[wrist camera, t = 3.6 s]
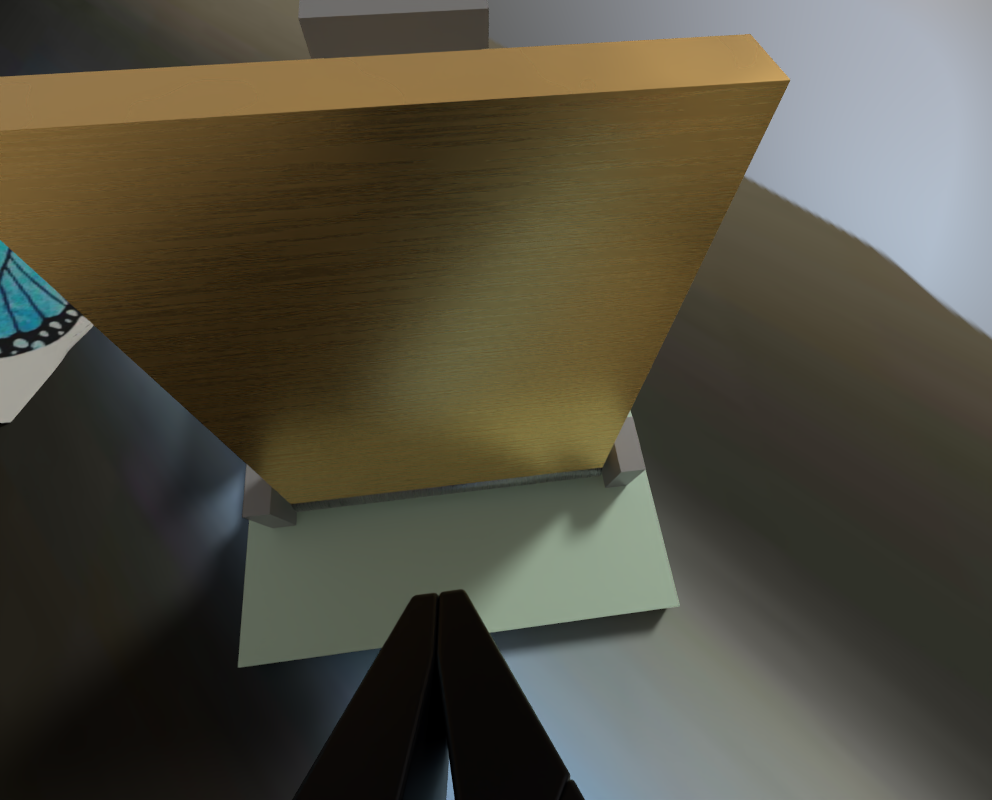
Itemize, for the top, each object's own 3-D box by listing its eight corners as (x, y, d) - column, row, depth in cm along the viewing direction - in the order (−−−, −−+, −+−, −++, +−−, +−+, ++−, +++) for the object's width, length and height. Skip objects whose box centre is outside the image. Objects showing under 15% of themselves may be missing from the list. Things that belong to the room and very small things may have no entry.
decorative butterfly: (176, 179, 19) (-145, 313, 13) (224, 299, 24) (7, 433, 19) (15, 83, 21) (-321, 166, 15) (92, 213, 26) (-140, 310, 21)
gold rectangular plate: (597, 482, 17) (794, 83, 6) (302, 517, 16) (-118, 142, 5) (588, 446, 17) (747, 30, 6) (305, 478, 17) (-56, 75, 6)
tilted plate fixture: (669, 605, 16) (910, 606, 7) (252, 664, 16) (-101, 752, 6) (564, 180, 24) (614, -87, 15) (283, 202, 23) (146, -69, 14)
